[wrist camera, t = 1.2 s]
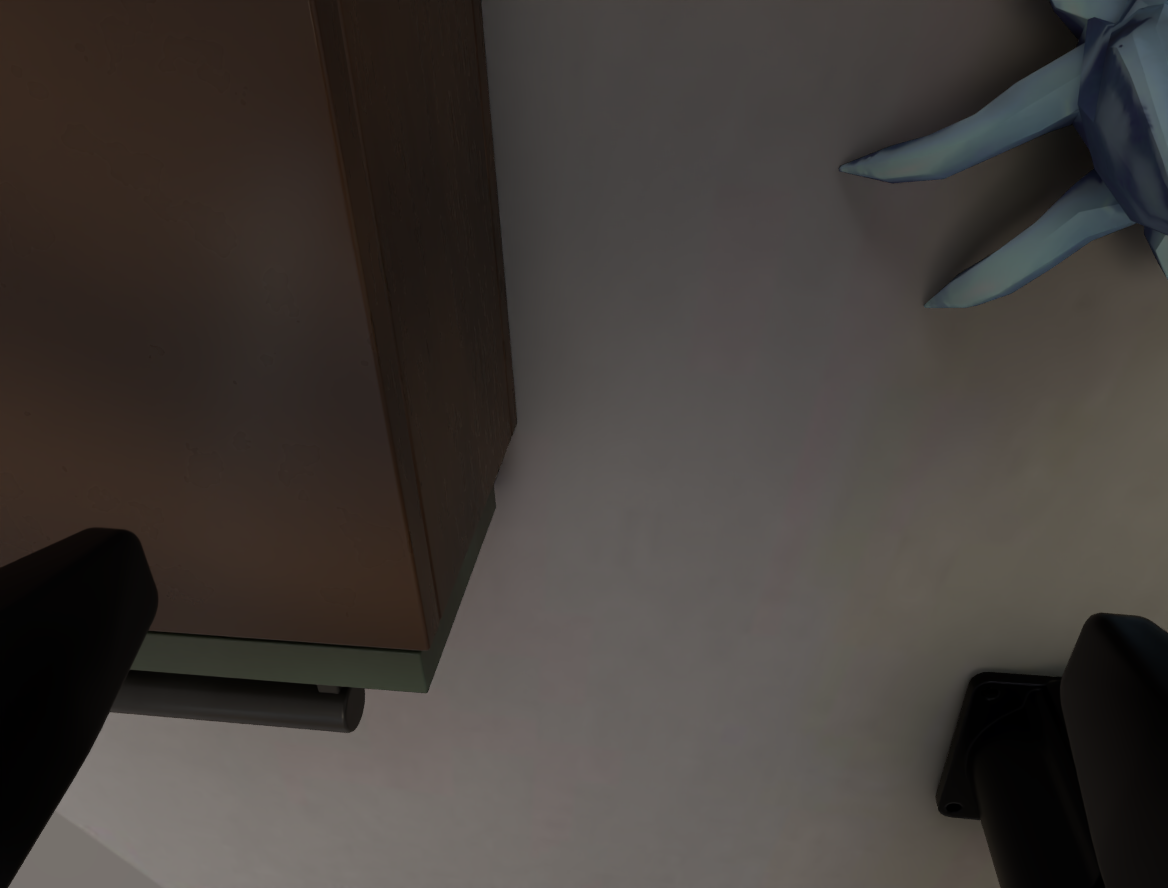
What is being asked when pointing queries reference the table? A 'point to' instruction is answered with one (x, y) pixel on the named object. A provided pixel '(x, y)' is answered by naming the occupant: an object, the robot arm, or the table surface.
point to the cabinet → (254, 303)
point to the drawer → (281, 672)
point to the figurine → (1049, 102)
